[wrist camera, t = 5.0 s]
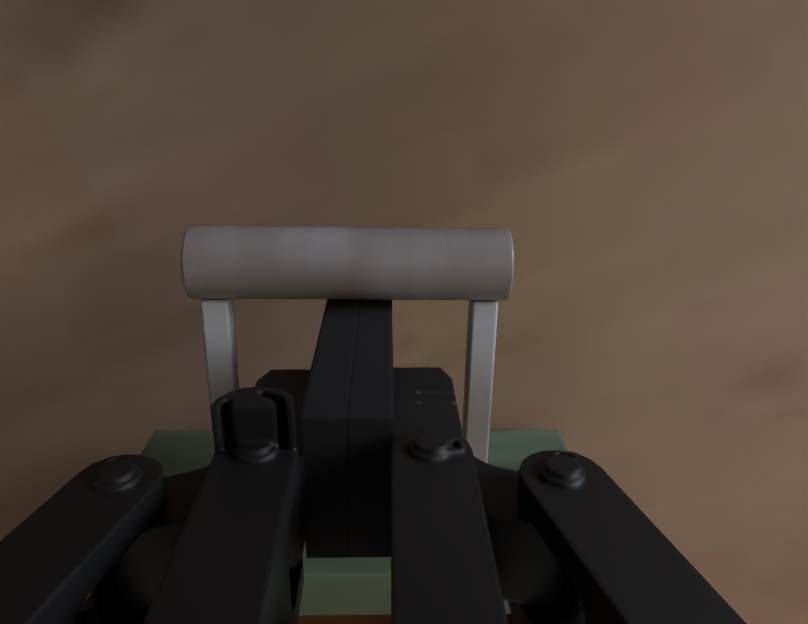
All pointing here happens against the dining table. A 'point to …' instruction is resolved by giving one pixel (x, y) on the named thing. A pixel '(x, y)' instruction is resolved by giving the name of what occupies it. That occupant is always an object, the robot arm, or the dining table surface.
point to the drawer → (350, 279)
